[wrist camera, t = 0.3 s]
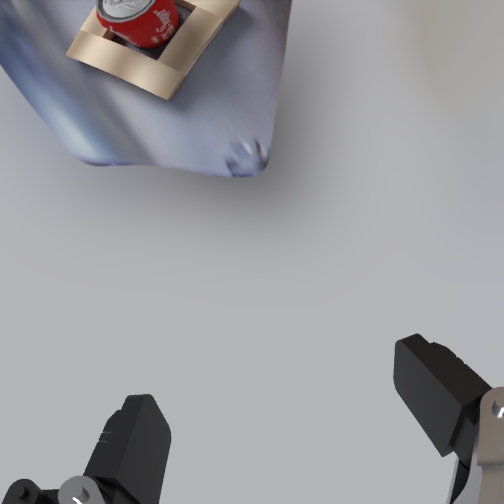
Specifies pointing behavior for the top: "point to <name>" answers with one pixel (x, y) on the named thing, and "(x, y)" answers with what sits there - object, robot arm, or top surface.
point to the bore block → (171, 60)
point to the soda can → (139, 20)
